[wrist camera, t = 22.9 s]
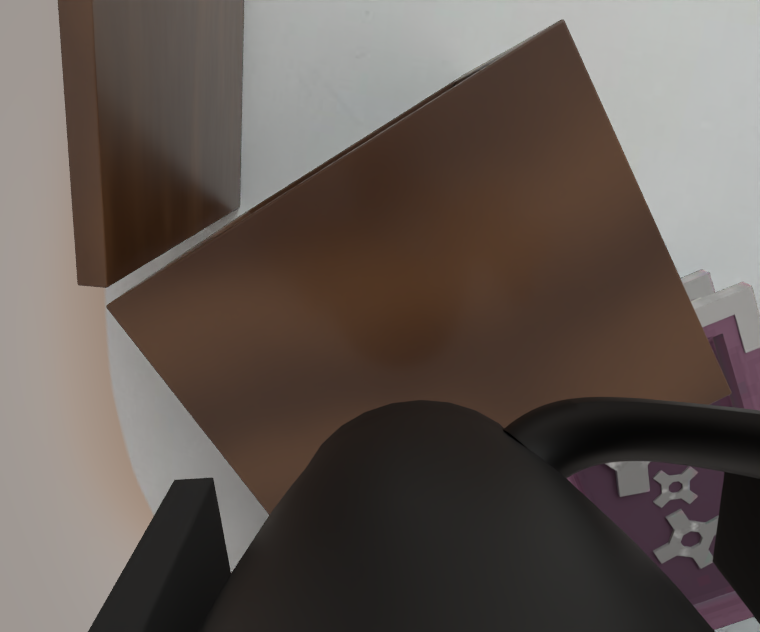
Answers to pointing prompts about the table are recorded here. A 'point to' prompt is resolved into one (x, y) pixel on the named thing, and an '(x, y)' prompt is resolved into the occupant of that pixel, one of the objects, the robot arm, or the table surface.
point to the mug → (475, 523)
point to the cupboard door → (149, 125)
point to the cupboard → (430, 277)
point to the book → (687, 483)
